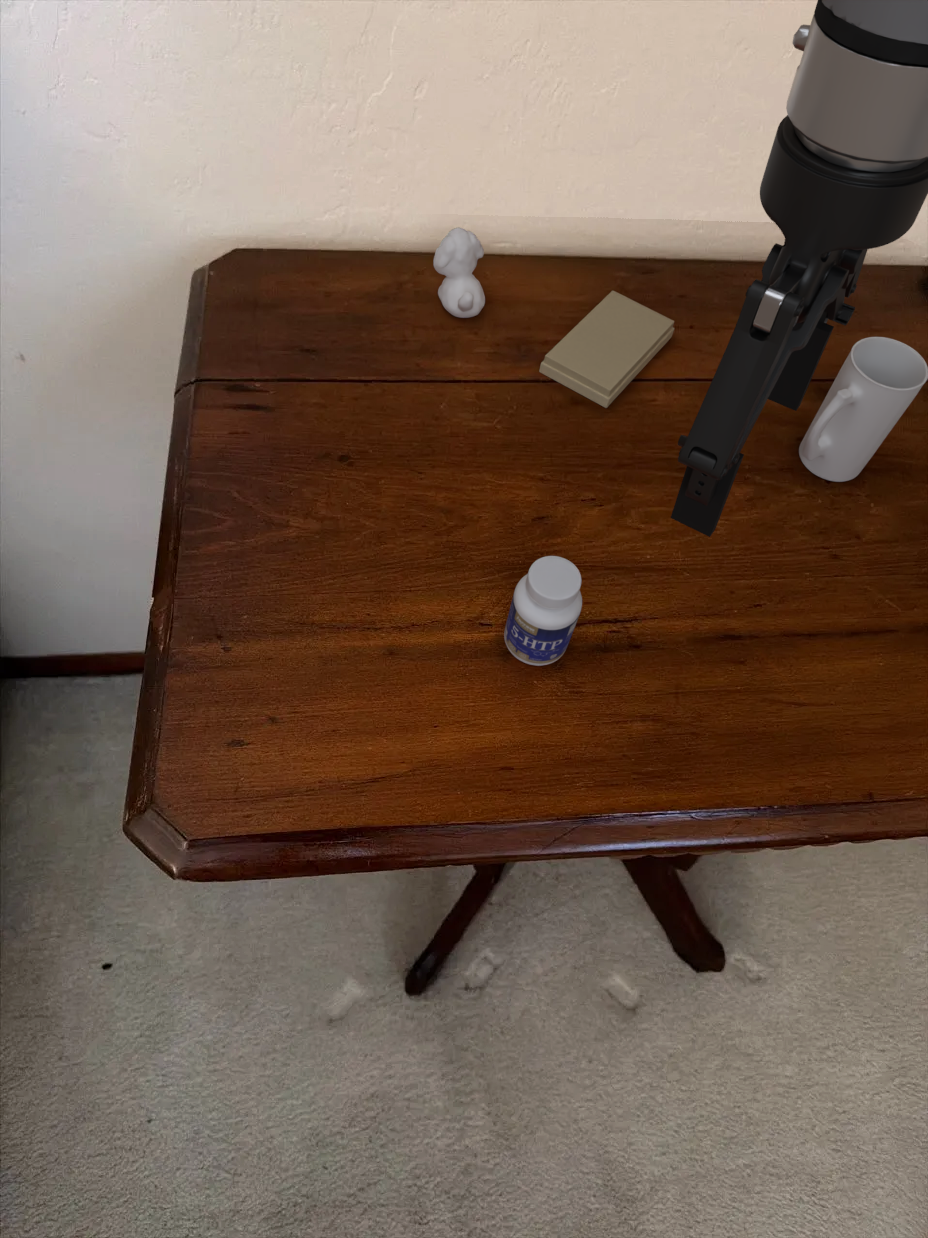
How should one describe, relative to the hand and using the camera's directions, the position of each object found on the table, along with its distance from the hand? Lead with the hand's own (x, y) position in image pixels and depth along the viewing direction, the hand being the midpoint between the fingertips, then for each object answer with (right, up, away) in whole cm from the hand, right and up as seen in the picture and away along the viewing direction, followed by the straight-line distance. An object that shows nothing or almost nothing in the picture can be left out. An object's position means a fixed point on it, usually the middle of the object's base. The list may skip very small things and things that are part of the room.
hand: (738, 459), depth 58 cm
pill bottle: (-12, -12, +14) cm, 22 cm away
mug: (+16, +4, +28) cm, 32 cm away
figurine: (-19, +23, +36) cm, 46 cm away
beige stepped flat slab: (-3, +17, +34) cm, 38 cm away
